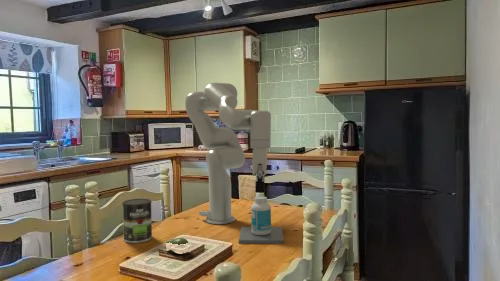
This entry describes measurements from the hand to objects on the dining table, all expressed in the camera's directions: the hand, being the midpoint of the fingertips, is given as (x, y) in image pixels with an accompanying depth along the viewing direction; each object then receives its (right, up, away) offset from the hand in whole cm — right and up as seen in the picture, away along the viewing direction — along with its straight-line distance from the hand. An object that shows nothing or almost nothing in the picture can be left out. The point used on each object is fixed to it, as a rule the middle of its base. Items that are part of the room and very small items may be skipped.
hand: (260, 189), depth 139 cm
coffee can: (-46, -19, 0) cm, 49 cm away
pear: (-28, -19, -15) cm, 37 cm away
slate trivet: (+1, -18, +1) cm, 18 cm away
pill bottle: (+1, -17, +1) cm, 17 cm away
